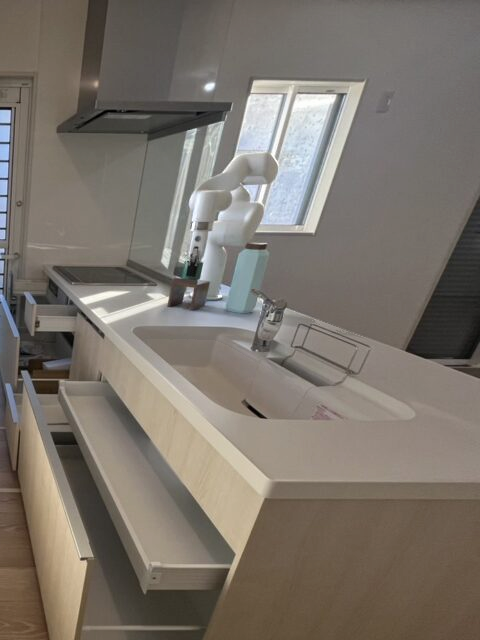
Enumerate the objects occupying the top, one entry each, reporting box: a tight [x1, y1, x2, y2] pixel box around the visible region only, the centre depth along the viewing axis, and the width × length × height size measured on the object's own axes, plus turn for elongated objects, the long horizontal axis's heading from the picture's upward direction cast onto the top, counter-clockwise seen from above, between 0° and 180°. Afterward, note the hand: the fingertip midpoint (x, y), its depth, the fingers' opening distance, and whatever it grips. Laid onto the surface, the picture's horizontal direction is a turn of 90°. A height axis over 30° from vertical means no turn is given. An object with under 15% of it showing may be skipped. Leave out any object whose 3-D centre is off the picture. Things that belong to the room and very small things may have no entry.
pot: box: [181, 260, 204, 280], centre depth 161 cm, size 7×7×6 cm
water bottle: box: [225, 242, 270, 314], centre depth 155 cm, size 10×10×25 cm
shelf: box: [166, 277, 210, 311], centre depth 165 cm, size 11×10×12 cm
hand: (191, 274), depth 162 cm, fingers closed on pot, 6 cm apart
